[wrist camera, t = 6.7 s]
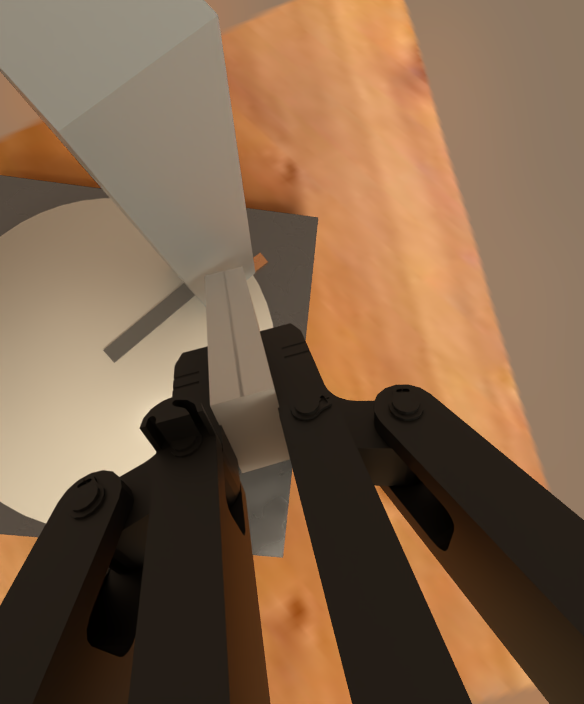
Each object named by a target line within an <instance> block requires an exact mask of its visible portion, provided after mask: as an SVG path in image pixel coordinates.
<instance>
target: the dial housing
mask: <svg viewBox="0 0 584 704" xmlns="http://www.w3.org/2000/svg"><path fill="white" fill-rule="evenodd" d="M102 198H109V196H108V195H107V194H106V193H105V192H104V191H103V189H100V188H92V187H85V186H77V185H70V184H62V183H55V182H47V181H40V180H32V179H25V178H17V177H10V176H2V175H0V237H1V236H2V235H3V234H5V233H6V232H8V231H9V230H11V229H12V228H14V227H15V226H17V225H18V224H20V223H21V222H23V221H25V220H27V219H29V218H31V217H33V216H35V215H37V214H39V213H41V212H44V211H47V210H50V209H53V208H55V207H58V206H61V205H65V204H70V203H74V202H78V201H83V200H92V199H102ZM246 212H247V219H248V226H249V233H250V240H251V246H252V253H253V260H254V267H255V274H254V275H253V276H254V278H255V279H256V281H257V283H258V284H259V286H260V289H261V291H262V293H263V295H264V298H265V300H266V302H267V305H268V309H269V312H270V316H271V319H272V323H273V328H274V327H278V326H281V325H285V324H289V323H291V324H293V325H294V326H295V327H297V328H298V329H300V330H301V332H302V334H303V336H304V339H305V340H306V330H307V321H308V311H309V301H310V292H311V282H312V273H313V263H314V253H315V244H316V234H317V225H318V217H310V216H303V215H295V214H288V213H280V212H273V211H265V210H258V209H250V208H246ZM238 467H239V465H238ZM291 475H292V464H291V460H290V459H289V460H286V461H282V462H279V463H276V464H272V465H269V466H265V467H262V468H259V469H255V470H252V471H248V472H245V473H242V472H241V469H240V467H239V477H240V482H241V484H242V486H243V488H244V491H245V495H246V503H247V512H248V520H249V528H250V537H251V545H252V554H253V555H259V556H271V557H283V551H284V542H285V532H286V523H287V513H288V503H289V494H290V484H291ZM45 525H46V523H43V522H41V521H38V520H35V519H33V518H30V517H27V516H25V515H23V514H21V513H19V512H17V511H15V510H14V509H12V508H10V507H8V506H6V505H5V504H3V503H2V502H0V534H5V535H17V536H29V537H39V535H40V534H41V532H42V530H43V528H44V526H45Z"/></svg>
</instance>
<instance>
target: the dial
mask: <svg viewBox="0 0 584 704" xmlns="http://www.w3.org/2000/svg"><path fill="white" fill-rule="evenodd" d="M0 72H1V73H2V74H3V75H4V76H5V77H6V78H7V80H8V81H9V82H10V83H11V84H12V85H13V87H14V88H15V89H16V90H17V91H18V92H19V93H20V95H21V96H22V97H23V98H24V99H25V100H26V101H27V103H28V104H29V105H30V106H31V107H32V109H33V110H34V111H35V112H36V113H37V114H38V115H39V117H40V118H41V119H42V120H43V121H44V122H45V124H46V125H47V126H48V127H49V128H50V129H51V130H52V132H53V133H54V134H55V135H56V136H57V137H58V139H59V140H60V141H61V142H62V143H63V144H64V145H65V147H66V148H67V149H68V150H69V151H70V152H71V154H72V155H73V156H74V157H75V158H76V159H77V161H78V162H79V163H80V164H81V165H82V166H83V167H84V169H85V170H86V171H87V172H88V173H89V174H90V176H91V177H92V178H93V179H94V180H95V181H96V182H97V184H98V185H99V186H100V187H101V188H102V189H103V191H104V192H105V193H106V194H107V195H108V196H109V198H102V199H92V200H83V201H78V202H74V203H70V204H65V205H61V206H58V207H55V208H53V209H50V210H47V211H44V212H41V213H39V214H37V215H35V216H33V217H31V218H29V219H27V220H25V221H23V222H21V223H20V224H18V225H17V226H15V227H14V228H12V229H11V230H9V231H8V232H6V233H5V234H3V235H2V236H1V237H0V502H2V503H3V504H5V505H6V506H8V507H10V508H12V509H14V510H15V511H17V512H19V513H21V514H23V515H25V516H27V517H30V518H33V519H35V520H38V521H41V522H43V523H47V521H48V519H49V517H50V516H51V514H52V512H53V510H54V508H55V507H56V505H57V503H58V501H59V500H60V499H61V497H62V496H63V495H64V493H65V492H66V491H67V490H68V489H69V488H70V487H71V486H72V485H73V484H74V483H75V482H77V481H78V480H79V479H81V478H83V477H85V476H86V475H88V474H90V473H93V472H97V471H101V470H106V471H113V472H114V473H115V474H116V475H118V476H119V477H120V476H122V475H124V474H125V473H127V472H129V471H131V470H132V469H134V468H136V467H137V466H139V465H141V464H143V463H144V462H146V461H147V460H149V459H150V458H151V457H153V456H154V455H155V454H156V451H155V449H154V448H153V446H152V445H151V444H150V442H149V441H148V440H147V438H146V437H145V435H144V434H143V433H142V431H141V430H140V429H139V428H140V425H141V423H142V420H143V418H144V417H145V415H146V414H147V413H148V412H149V411H150V410H151V409H152V408H153V407H154V406H156V405H157V404H159V403H160V402H161V401H164V400H166V399H168V398H171V397H172V391H173V380H174V367H175V364H176V362H177V361H178V359H179V357H180V356H181V354H182V353H184V352H188V351H192V350H195V349H199V348H203V347H207V346H208V344H207V320H206V296H205V275H209V274H213V273H217V272H221V271H225V270H229V269H233V268H237V267H241V266H243V270H244V273H245V277H246V281H247V284H248V288H249V292H250V295H251V299H252V302H253V306H254V310H255V313H256V317H257V321H258V324H259V328H260V331H262V330H266V329H270V328H273V323H272V319H271V316H270V312H269V309H268V305H267V302H266V300H265V298H264V295H263V293H262V291H261V289H260V286H259V284H258V283H257V281H256V279H255V278H254V276H253V275H254V274H255V267H254V260H253V253H252V246H251V240H250V233H249V226H248V219H247V212H246V205H245V198H244V191H243V184H242V177H241V170H240V163H239V157H238V150H237V143H236V136H235V129H234V122H233V115H232V108H231V101H230V94H229V87H228V80H227V74H226V67H225V60H224V53H223V46H222V39H221V32H220V25H219V18H218V14H216V12H215V11H214V10H213V9H212V8H211V7H210V6H209V5H208V4H207V3H206V2H205V1H204V0H0Z"/></svg>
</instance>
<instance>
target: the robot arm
mask: <svg viewBox="0 0 584 704" xmlns="http://www.w3.org/2000/svg"><path fill="white" fill-rule="evenodd" d="M205 296H206V320H207V344H208V346H207V347H203V348H199V349H195V350H192V351H188V352H184V353H182V354H181V356H180V357H179V359H178V361H177V362H176V364H175V367H174V380H173V391H172V397H171V398H168V399H166V400H164V401H161V402H160V403H159V404H157V405H156V406H154V407H153V408H152V409H151V410H150V411H149V412H148V413H147V414H146V415H145V417H144V418H143V420H142V423H141V425H140V428H139V429H140V430H141V431H142V433H143V434H144V435H145V437H146V438H147V440H148V441H149V442H150V444H151V445H152V446H153V448H154V449H155V451H156V454H155V455H154V456H153V457H151V458H150V459H149V460H147V461H146V462H144V463H143V464H141V465H139V466H137V467H136V468H134V469H132V470H131V471H129V472H127V473H125V474H124V475H122V476H120V477H119V476H118V475H116V474H115V473H114V472H113V471H106V470H101V471H97V472H93V473H90V474H88V475H86V476H85V477H83V478H81V479H79V480H78V481H77V482H75V483H74V484H73V485H72V486H71V487H70V488H69V489H68V490H67V491H66V492H65V493H64V495H63V496H62V497H61V499H60V500H59V501H58V503H57V505H56V507H55V508H54V510H53V512H52V514H51V516H50V517H49V519H48V521H47V523H46V525H45V526H44V528H43V530H42V532H41V534H40V535H39V537H38V539H37V541H36V543H35V544H34V546H33V548H32V550H31V552H30V553H29V555H28V557H27V559H26V560H25V562H24V564H23V566H22V568H21V569H20V571H19V573H18V575H17V577H16V578H15V580H14V582H13V584H12V586H11V587H10V589H9V591H8V593H7V595H6V596H5V598H4V600H3V602H2V604H1V605H0V704H270V696H269V688H268V679H267V671H266V663H265V654H264V646H263V637H262V629H261V621H260V612H259V604H258V595H257V587H256V579H255V570H254V562H253V554H252V545H251V537H250V528H249V520H248V512H247V503H246V495H245V491H244V488H243V486H242V484H241V482H240V477H239V467H240V469H241V472H242V473H245V472H248V471H252V470H255V469H259V468H262V467H265V466H269V465H272V464H276V463H279V462H282V461H286V460H289V459H290V460H291V464H292V468H293V472H294V476H295V480H296V484H297V488H298V492H299V496H300V500H301V504H302V508H303V512H304V516H305V520H306V523H307V527H308V531H309V535H310V539H311V543H312V547H313V551H314V555H315V559H316V563H317V567H318V571H319V575H320V579H321V583H322V586H323V590H324V594H325V598H326V602H327V606H328V610H329V614H330V618H331V622H332V626H333V630H334V634H335V638H336V642H337V646H338V650H339V653H340V657H341V661H342V665H343V669H344V673H345V677H346V681H347V685H348V689H349V693H350V697H351V701H352V704H472V703H471V700H470V698H469V696H468V694H467V691H466V689H465V687H464V685H463V682H462V680H461V678H460V676H459V674H458V671H457V669H456V667H455V665H454V662H453V660H452V658H451V656H450V654H449V651H448V649H447V647H446V645H445V642H444V640H443V638H442V636H441V633H440V631H439V629H438V627H437V625H436V622H435V620H434V618H433V616H432V613H431V611H430V609H429V607H428V604H427V602H426V600H425V598H424V596H423V593H422V591H421V589H420V587H419V584H418V582H417V580H416V578H415V576H414V573H413V571H412V569H411V567H410V564H409V562H408V560H407V558H406V555H405V553H404V551H403V549H402V547H401V544H400V542H399V540H398V538H397V535H396V533H395V531H394V529H393V527H392V524H391V522H390V520H389V518H388V515H387V513H386V511H385V509H384V506H383V504H382V502H381V500H380V498H379V495H378V493H377V491H376V489H375V486H374V485H377V486H380V487H381V488H382V489H383V491H384V492H385V493H386V495H387V496H388V497H389V498H390V500H391V501H392V502H393V504H394V505H395V506H396V507H397V509H398V510H399V511H400V512H401V514H402V515H403V516H404V518H405V519H406V520H407V521H408V523H409V524H410V525H411V527H412V528H413V529H414V530H415V532H416V533H417V534H418V536H419V537H420V538H421V539H422V541H423V542H424V543H425V545H426V546H427V547H428V548H429V550H430V551H431V552H432V554H433V555H434V556H435V557H436V559H437V560H438V561H439V563H440V564H441V565H442V566H443V568H444V569H445V570H446V572H447V573H448V574H449V575H450V577H451V578H452V579H453V580H454V582H455V583H456V584H457V586H458V587H459V588H460V589H461V591H462V592H463V593H464V595H465V596H466V597H467V598H468V600H469V601H470V602H471V604H472V605H473V606H474V607H475V609H476V610H477V611H478V613H479V614H480V615H481V616H482V618H483V619H484V620H485V622H486V623H487V624H488V625H489V627H490V628H491V629H492V631H493V632H494V633H495V634H496V636H497V637H498V638H499V639H500V641H501V642H502V643H503V645H504V646H505V647H506V648H507V650H508V651H509V652H510V654H511V655H512V656H513V657H514V659H515V660H516V661H517V663H518V664H519V665H520V666H521V668H522V669H523V670H524V672H525V673H526V674H527V675H528V677H529V678H530V679H531V681H532V682H533V683H534V684H535V686H536V687H537V688H538V690H539V691H540V692H541V693H542V694H543V696H544V697H545V699H546V700H547V701H548V702H549V704H584V520H583V519H582V518H580V517H579V516H578V515H577V514H575V513H574V512H573V511H572V510H571V509H569V508H568V507H567V506H566V505H565V504H563V503H562V502H561V501H560V500H559V499H557V498H556V497H555V496H554V495H552V494H551V493H550V492H549V491H548V490H546V489H545V488H544V487H543V486H542V485H540V484H539V483H538V482H537V481H535V480H534V479H533V478H532V477H531V476H529V475H528V474H527V473H526V472H525V471H523V470H522V469H521V468H520V467H518V466H517V465H516V464H515V463H514V462H512V461H511V460H510V459H509V458H508V457H506V456H505V455H504V454H503V453H501V452H500V451H499V450H498V449H497V448H495V447H494V446H493V445H492V444H491V443H489V442H488V441H487V440H486V439H484V438H483V437H482V436H481V435H480V434H478V433H477V432H476V431H475V430H474V429H472V428H471V427H470V426H469V425H468V424H466V423H465V422H464V421H463V420H461V419H460V418H459V417H458V416H457V415H455V414H454V413H453V412H452V411H451V410H449V409H448V408H447V407H446V406H444V405H443V404H442V403H441V402H440V401H438V400H437V399H436V398H435V397H434V396H432V395H431V394H430V393H428V392H426V391H425V390H423V389H421V388H419V387H415V386H412V385H394V386H391V387H388V388H385V389H384V390H383V391H381V392H380V393H379V394H378V395H377V397H376V399H375V401H350V400H345V399H342V398H339V397H337V396H335V395H333V394H332V393H331V392H330V391H328V390H327V388H326V386H325V385H324V383H323V380H322V378H321V376H320V373H319V371H318V369H317V366H316V364H315V362H314V360H313V357H312V355H311V353H310V351H309V348H308V346H307V343H306V341H305V339H304V336H303V334H302V332H301V330H300V329H298V328H297V327H295V326H294V325H293V324H291V323H289V324H285V325H281V326H278V327H274V328H270V329H266V330H262V331H260V328H259V324H258V321H257V317H256V313H255V310H254V306H253V302H252V299H251V295H250V292H249V288H248V284H247V281H246V277H245V273H244V270H243V266H241V267H237V268H233V269H229V270H225V271H221V272H217V273H213V274H209V275H205ZM238 465H239V467H238Z"/></svg>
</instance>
